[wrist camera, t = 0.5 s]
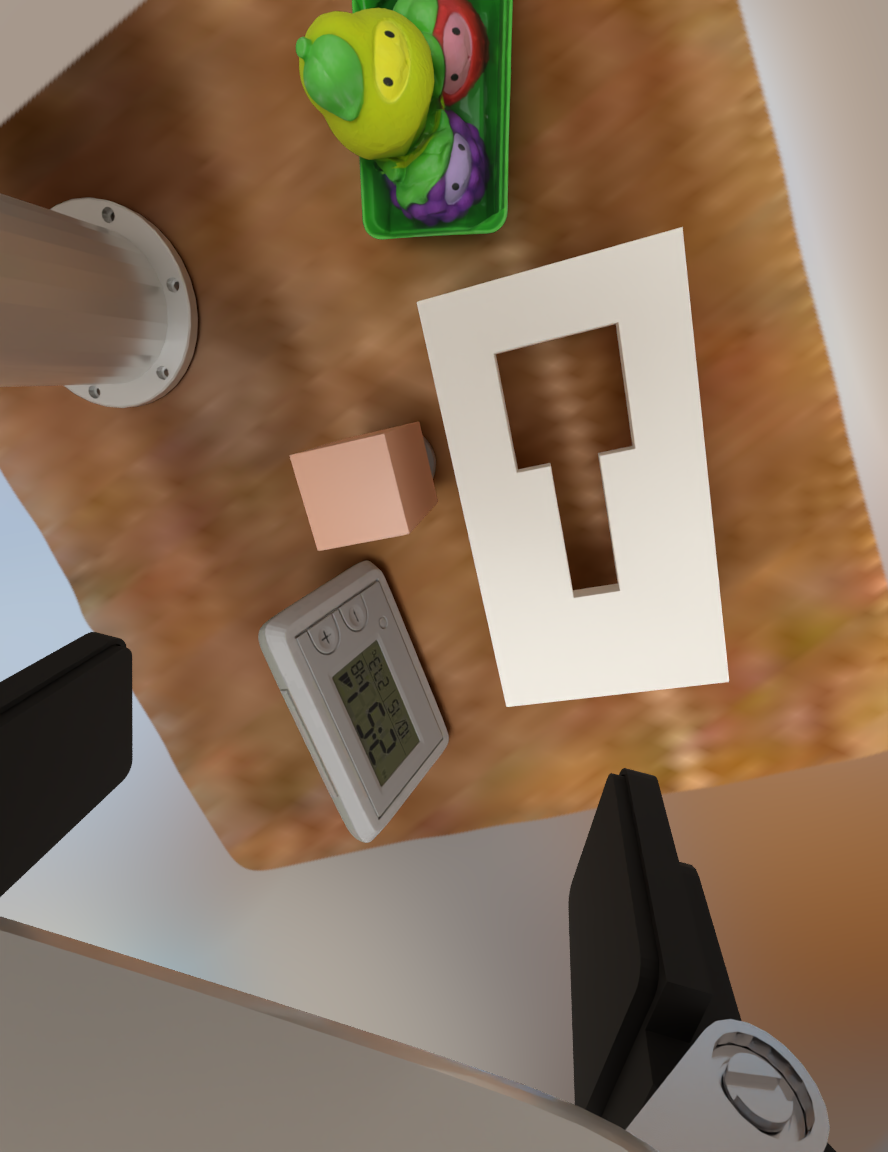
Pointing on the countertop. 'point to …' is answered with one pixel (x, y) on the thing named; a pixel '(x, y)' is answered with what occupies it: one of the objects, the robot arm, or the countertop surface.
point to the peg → (367, 485)
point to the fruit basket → (418, 109)
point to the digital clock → (356, 695)
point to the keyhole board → (629, 476)
